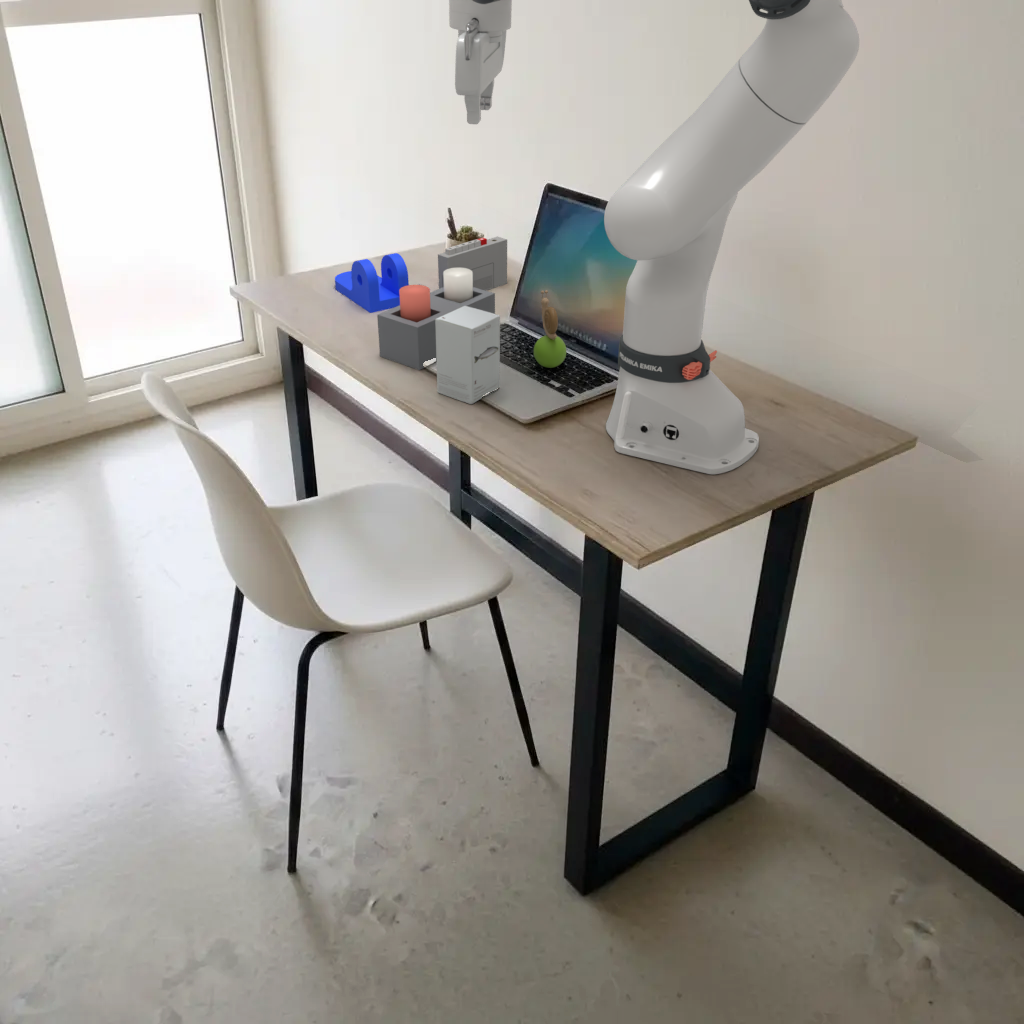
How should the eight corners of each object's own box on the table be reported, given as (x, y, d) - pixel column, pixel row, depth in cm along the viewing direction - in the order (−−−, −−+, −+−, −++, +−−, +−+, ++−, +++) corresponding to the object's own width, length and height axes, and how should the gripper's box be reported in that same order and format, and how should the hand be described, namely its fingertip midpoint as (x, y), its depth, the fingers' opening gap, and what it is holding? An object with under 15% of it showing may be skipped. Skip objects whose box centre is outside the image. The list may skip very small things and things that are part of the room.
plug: (478, 307, 184) (478, 271, 181) (460, 315, 181) (459, 279, 178) (457, 301, 187) (456, 265, 184) (438, 309, 184) (437, 273, 180)
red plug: (437, 326, 177) (436, 289, 174) (417, 335, 174) (415, 297, 170) (415, 319, 180) (413, 282, 176) (395, 328, 176) (393, 290, 173)
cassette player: (497, 280, 211) (497, 231, 206) (507, 284, 209) (507, 234, 204) (439, 300, 201) (437, 249, 196) (448, 304, 200) (447, 252, 195)
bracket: (409, 305, 199) (407, 258, 195) (370, 314, 196) (367, 267, 191) (366, 277, 212) (363, 233, 207) (328, 285, 208) (324, 241, 203)
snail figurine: (557, 355, 179) (559, 288, 173) (570, 370, 174) (573, 301, 168) (527, 359, 178) (528, 291, 172) (539, 374, 173) (541, 305, 166)
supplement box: (472, 405, 163) (471, 329, 156) (436, 393, 167) (433, 317, 160) (501, 389, 168) (501, 314, 161) (465, 377, 172) (464, 303, 165)
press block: (494, 333, 187) (494, 293, 183) (419, 370, 174) (417, 327, 170) (456, 321, 192) (455, 282, 188) (379, 356, 179) (377, 314, 175)
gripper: (489, 26, 140) (488, 133, 148) (513, 5, 157) (510, 103, 165) (443, 23, 141) (444, 130, 148) (471, 3, 158) (471, 100, 165)
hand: (479, 116), depth 157 cm, fingers open, 8 cm apart
